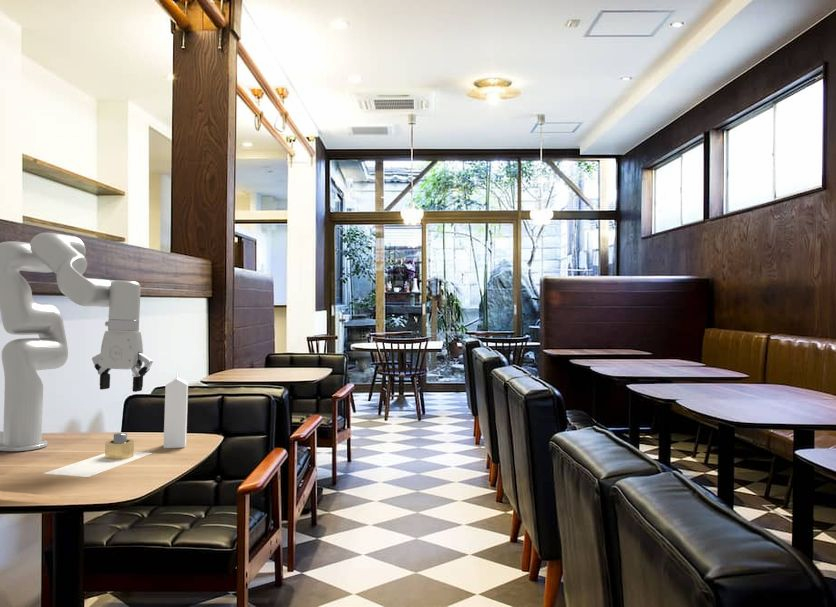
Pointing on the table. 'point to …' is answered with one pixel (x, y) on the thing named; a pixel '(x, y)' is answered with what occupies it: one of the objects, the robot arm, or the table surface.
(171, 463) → the table surface
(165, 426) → the milk
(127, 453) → the ring
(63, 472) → the board
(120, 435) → the cylinder
